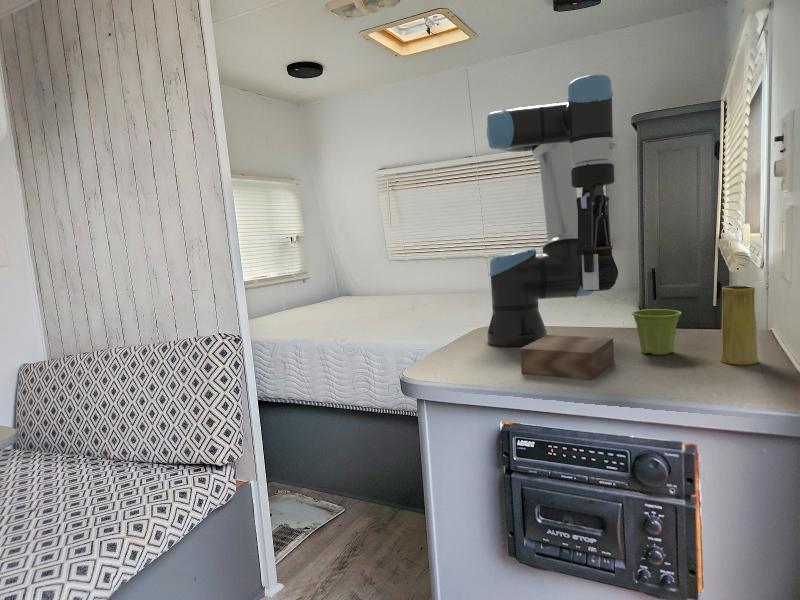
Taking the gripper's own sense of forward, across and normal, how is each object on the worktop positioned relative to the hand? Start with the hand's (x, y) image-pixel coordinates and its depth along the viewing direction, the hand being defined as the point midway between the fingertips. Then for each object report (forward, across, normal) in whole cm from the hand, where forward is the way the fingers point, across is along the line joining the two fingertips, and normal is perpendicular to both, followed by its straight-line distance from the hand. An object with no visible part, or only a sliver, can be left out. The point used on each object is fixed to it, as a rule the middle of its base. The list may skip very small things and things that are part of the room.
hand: (596, 286), depth 100 cm
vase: (+17, +12, -23) cm, 31 cm away
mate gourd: (+1, 0, 0) cm, 1 cm away
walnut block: (+16, -1, +6) cm, 17 cm away
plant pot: (+17, +17, -8) cm, 25 cm away
